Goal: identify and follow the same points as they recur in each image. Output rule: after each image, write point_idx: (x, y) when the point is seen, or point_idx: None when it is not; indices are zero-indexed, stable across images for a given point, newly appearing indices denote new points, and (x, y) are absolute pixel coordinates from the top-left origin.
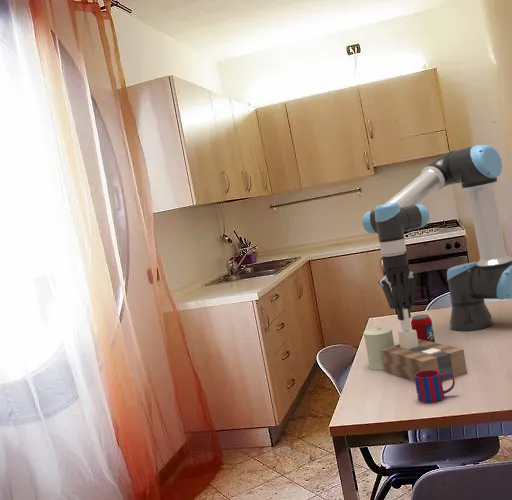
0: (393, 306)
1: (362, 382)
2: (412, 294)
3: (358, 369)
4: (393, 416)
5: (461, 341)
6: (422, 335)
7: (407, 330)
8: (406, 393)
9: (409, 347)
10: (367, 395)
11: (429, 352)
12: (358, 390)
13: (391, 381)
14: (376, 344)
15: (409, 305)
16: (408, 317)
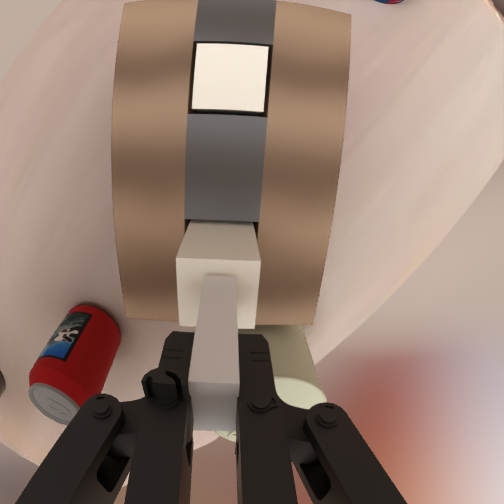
0: (352, 429)
1: (396, 248)
2: (66, 481)
3: (317, 350)
4: (478, 5)
5: (4, 307)
6: (86, 347)
7: (230, 277)
8: (396, 54)
9: (242, 228)
10: (454, 146)
11: (254, 62)
12: (442, 201)
13: (353, 176)
14: (307, 358)
15: (151, 402)
16: (200, 326)
